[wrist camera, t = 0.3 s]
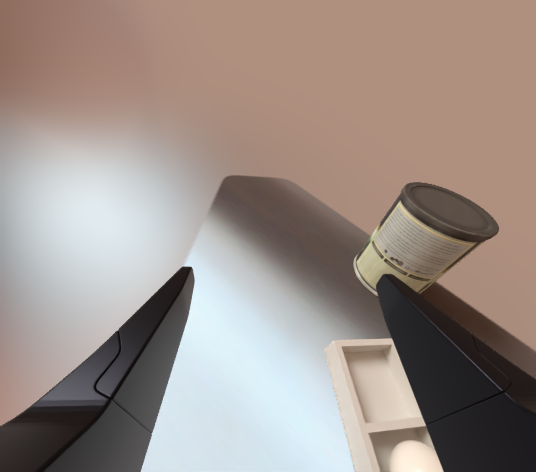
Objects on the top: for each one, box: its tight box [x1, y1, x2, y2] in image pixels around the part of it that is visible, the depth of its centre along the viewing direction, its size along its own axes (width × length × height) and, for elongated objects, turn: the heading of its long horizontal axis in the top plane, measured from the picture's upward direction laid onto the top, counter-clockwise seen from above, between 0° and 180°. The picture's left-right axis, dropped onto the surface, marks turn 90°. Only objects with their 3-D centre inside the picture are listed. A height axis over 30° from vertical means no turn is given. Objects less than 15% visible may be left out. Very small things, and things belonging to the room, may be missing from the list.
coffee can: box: [354, 182, 499, 296], centre depth 30 cm, size 10×10×14 cm
